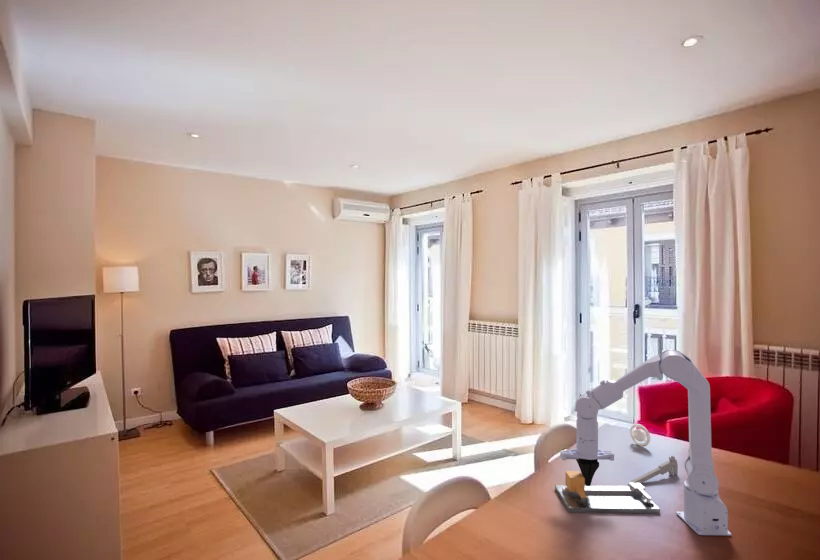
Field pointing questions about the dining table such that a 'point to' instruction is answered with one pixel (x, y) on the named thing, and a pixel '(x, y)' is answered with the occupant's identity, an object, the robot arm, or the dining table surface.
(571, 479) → the block
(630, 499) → the board
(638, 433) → the ring around a ball
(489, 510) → the dining table surface
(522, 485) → the dining table surface
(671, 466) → the caliper
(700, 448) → the robot arm
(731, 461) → the dining table surface
